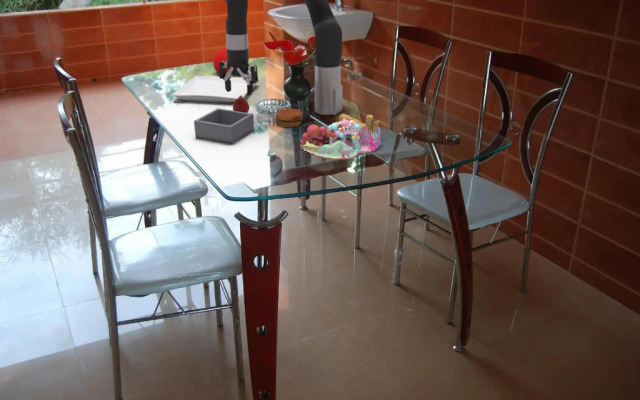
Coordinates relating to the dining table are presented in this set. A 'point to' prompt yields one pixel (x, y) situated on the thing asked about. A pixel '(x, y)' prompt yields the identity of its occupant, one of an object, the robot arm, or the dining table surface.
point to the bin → (224, 126)
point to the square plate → (212, 89)
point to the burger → (289, 117)
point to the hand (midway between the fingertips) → (239, 92)
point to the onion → (241, 105)
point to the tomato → (220, 59)
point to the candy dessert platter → (342, 138)
